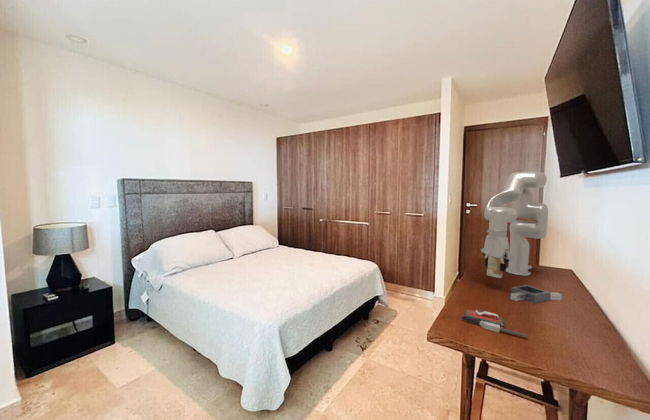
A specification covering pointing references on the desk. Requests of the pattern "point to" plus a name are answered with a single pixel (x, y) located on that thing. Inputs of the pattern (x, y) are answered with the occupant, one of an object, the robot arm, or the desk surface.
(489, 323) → the toy chainsaw
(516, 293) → the block
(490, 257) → the skincare box
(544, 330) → the desk surface
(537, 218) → the robot arm
